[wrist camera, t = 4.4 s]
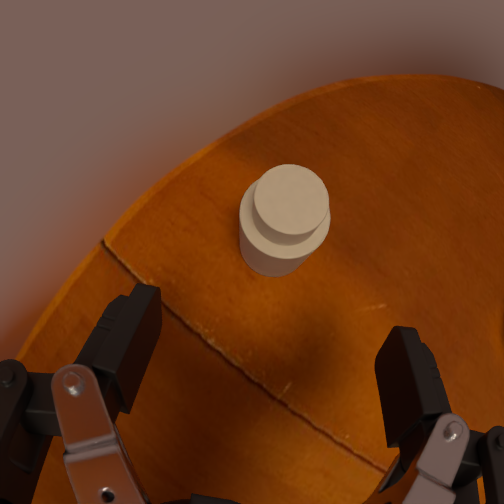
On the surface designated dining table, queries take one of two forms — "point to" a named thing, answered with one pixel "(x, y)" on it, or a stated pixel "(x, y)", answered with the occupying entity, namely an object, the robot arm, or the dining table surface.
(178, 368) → the dining table surface
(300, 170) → the small white bottle
